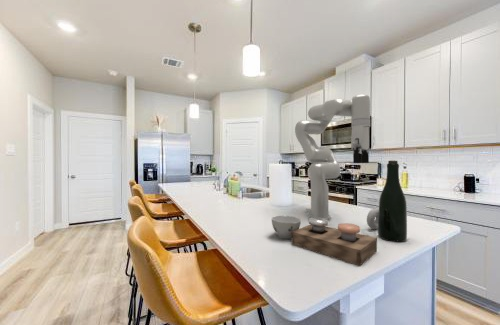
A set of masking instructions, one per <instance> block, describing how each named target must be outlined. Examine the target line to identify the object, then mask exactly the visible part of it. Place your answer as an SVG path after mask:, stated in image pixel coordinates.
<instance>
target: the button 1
mask: <svg viewBox="0 0 500 325" xmlns="http://www.w3.org/2000/svg"><path fill="white" fill-rule="evenodd" d="M328 222H329V220H327V219H324V218H316V217H315V218H308V225H310V224H311V225H312V232H313V233H317V234H321V235H322V234H324V233H325V226H326V227H328V225H329V223H328Z"/></svg>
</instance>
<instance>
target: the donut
mask: <svg viewBox="0 0 500 325" xmlns="http://www.w3.org/2000/svg"><path fill="white" fill-rule="evenodd" d="M378 213H379V208H376V207H375V208H374V207H373V208H372V209H370V210H369V211H368V214H367V215H366V223H367V226H368V228H370V229H371V230H378Z"/></svg>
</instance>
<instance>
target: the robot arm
mask: <svg viewBox="0 0 500 325" xmlns="http://www.w3.org/2000/svg"><path fill="white" fill-rule="evenodd" d="M307 116H308V118H309V119H307V120H305V119H303V120H300V121H298V122H296V123H295V126H294V133H295V134H294V135H295V136H296V139H297V141H298V143H299V145H300V146H301V148H302V151H303V154H304V156H305V158H306V160H307V162H309V163H311V164H310V165H309V170H308V174H309V178H310V208H307V207H306V208H305V213H308V215H307V218H308V219H310V218H315V217H316V218H324V219H327V220H328V221H330V220H331V219H332V215H329V185H328V183H327V181H326V180H327V179H331V180H332V179H337V178H339V176H340V175H341V167H340V164H339V163H338V160H337V158H336V156H335V154H334V153H333V152H334V151H333V150H332V149H330V148H329V147H324V146H323V147H320V146H318V144H317V142H316V140H315V139H314V138H313V137H312V136H311V135H321V134H322V133H324V132H325V130H326V129H327V127H328V126H329V124H330V123H331V121H332V120H333V118H334V117H335V116H338V117H349V118H350V117H351V118H350V120H351V138H350V142H351V143H350V148H351V150H352V157H353V159H352V160H353V161H352V162H353V164H369V163H370V162H369V161H370V159H369V157H370V156H369V155H370V154H369V153H370V152H369V151H370V150H369V149H370V132H369V128H371V98H370V96H369V95H368V94H357V95H355V96H353V97H352V98H351V99H345V98H343V99H341V98H335V99H330V100H327V101H325V102H324V103H322V104H317V105H313V106H312V107H310V108H309V109H308V112H307Z"/></svg>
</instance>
